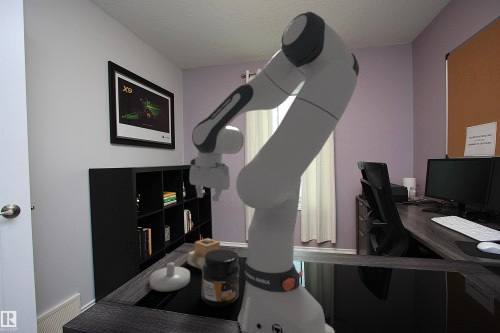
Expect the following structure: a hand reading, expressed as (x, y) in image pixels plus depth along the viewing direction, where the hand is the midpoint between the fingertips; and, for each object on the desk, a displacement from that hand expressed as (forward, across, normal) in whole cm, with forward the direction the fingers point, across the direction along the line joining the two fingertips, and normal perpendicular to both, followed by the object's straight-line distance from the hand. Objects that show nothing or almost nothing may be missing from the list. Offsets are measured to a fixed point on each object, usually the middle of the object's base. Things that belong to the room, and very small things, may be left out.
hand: (207, 199), depth 88 cm
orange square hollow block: (+20, 0, -1) cm, 20 cm away
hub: (+24, -4, +16) cm, 29 cm away
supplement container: (+24, -21, +10) cm, 34 cm away
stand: (+24, 0, -1) cm, 24 cm away
